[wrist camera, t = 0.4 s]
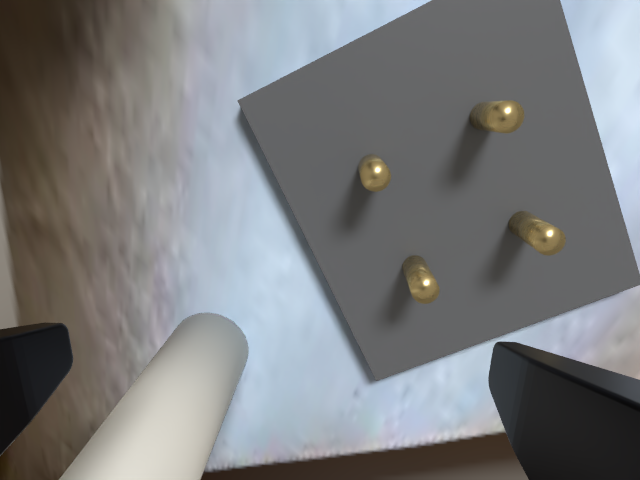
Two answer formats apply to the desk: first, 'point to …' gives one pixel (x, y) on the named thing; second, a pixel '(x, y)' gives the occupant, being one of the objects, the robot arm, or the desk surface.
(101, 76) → the desk surface
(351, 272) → the charcoal plate
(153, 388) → the cream post
